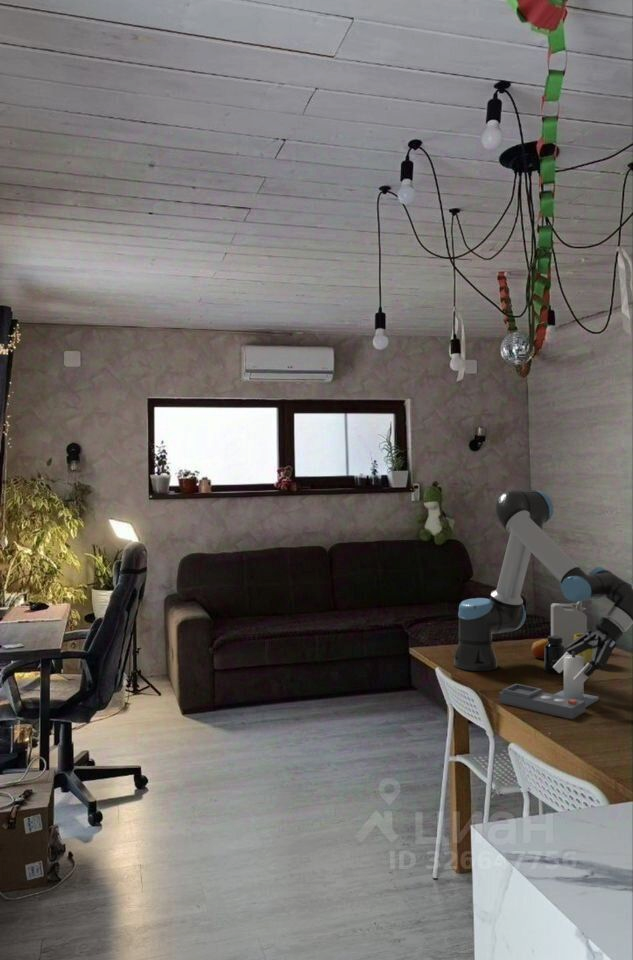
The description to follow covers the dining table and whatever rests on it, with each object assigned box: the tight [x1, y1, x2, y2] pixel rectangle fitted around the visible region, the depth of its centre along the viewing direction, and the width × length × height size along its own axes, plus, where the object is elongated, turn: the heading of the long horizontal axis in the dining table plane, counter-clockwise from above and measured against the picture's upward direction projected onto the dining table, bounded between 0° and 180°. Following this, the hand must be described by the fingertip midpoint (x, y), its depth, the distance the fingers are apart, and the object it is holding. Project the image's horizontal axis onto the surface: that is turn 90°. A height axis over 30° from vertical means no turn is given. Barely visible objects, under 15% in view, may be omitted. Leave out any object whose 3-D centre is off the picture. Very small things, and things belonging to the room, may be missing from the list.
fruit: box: [531, 638, 548, 660], centre depth 262 cm, size 8×8×8 cm
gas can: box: [550, 601, 588, 647], centre depth 277 cm, size 15×5×25 cm, turn 83°
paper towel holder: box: [563, 651, 585, 700], centre depth 211 cm, size 6×6×14 cm
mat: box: [553, 689, 600, 708], centre depth 211 cm, size 11×11×1 cm
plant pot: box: [574, 633, 594, 665], centre depth 255 cm, size 10×10×10 cm
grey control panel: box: [498, 683, 586, 720], centre depth 204 cm, size 22×9×4 cm, turn 47°
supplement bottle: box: [543, 635, 566, 675], centre depth 243 cm, size 7×7×12 cm
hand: (565, 676), depth 210 cm, fingers open, 13 cm apart
